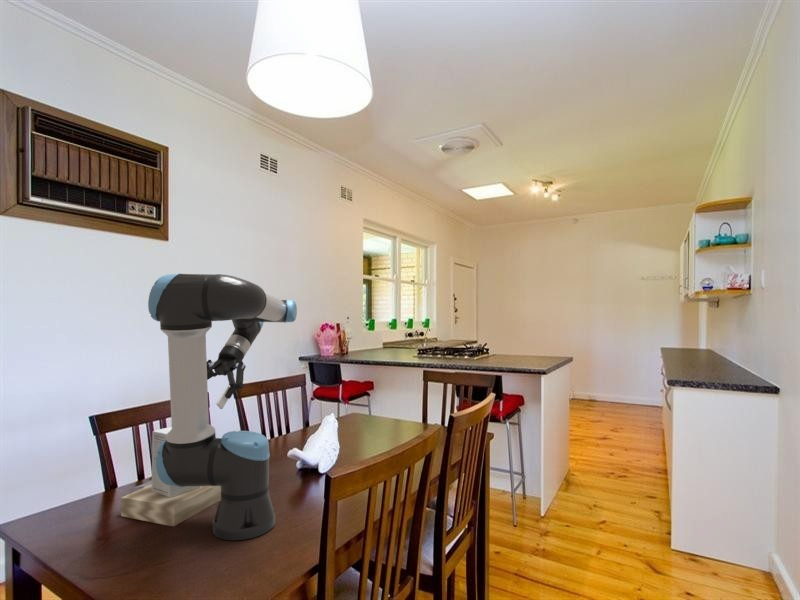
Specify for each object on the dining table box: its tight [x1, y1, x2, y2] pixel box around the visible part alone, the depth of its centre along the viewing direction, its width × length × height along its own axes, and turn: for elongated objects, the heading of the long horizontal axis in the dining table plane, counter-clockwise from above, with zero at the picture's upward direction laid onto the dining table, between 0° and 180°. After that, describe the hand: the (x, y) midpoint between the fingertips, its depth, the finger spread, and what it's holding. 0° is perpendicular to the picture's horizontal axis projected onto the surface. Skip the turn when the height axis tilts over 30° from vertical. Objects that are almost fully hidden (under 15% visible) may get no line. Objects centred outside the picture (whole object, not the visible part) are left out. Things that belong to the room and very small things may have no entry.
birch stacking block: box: [120, 485, 221, 527], centre depth 125 cm, size 18×18×5 cm
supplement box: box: [151, 426, 200, 498], centre depth 125 cm, size 10×9×17 cm
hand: (200, 405), depth 134 cm, fingers open, 13 cm apart
